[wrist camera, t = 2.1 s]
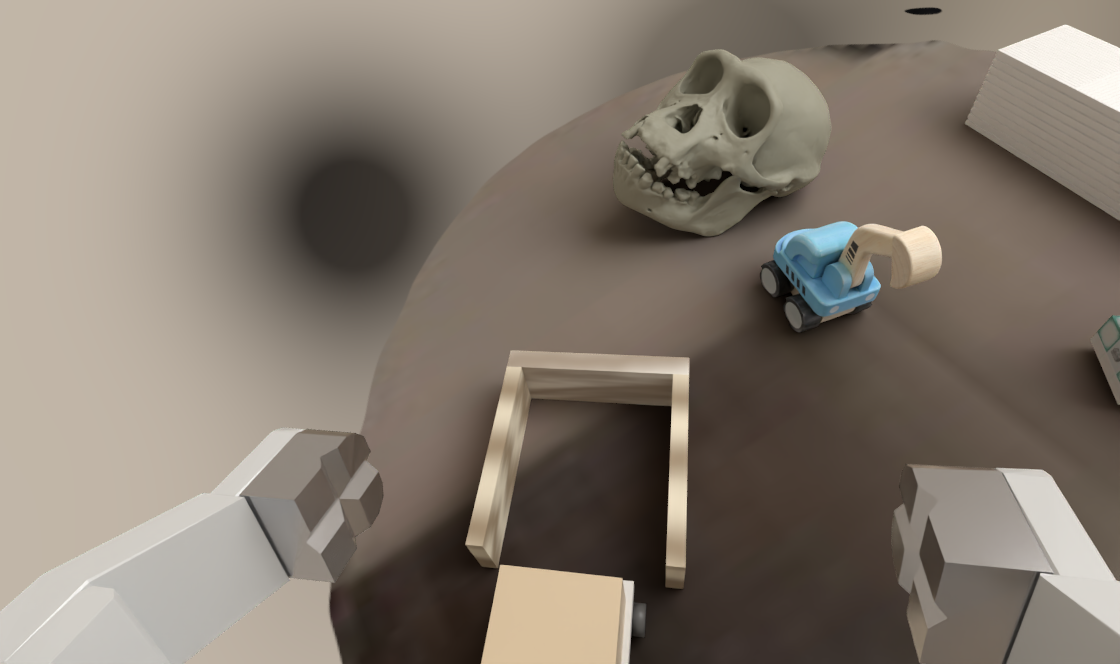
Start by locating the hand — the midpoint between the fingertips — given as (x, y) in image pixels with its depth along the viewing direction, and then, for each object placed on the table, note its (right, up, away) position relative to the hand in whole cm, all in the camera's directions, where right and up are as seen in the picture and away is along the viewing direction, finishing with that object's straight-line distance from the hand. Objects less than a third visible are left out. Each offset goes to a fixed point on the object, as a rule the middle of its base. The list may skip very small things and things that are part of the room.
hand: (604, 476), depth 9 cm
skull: (+20, +21, +73) cm, 78 cm away
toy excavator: (+29, +4, +58) cm, 65 cm away
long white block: (+66, +22, +66) cm, 96 cm away
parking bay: (+2, -12, +50) cm, 52 cm away
